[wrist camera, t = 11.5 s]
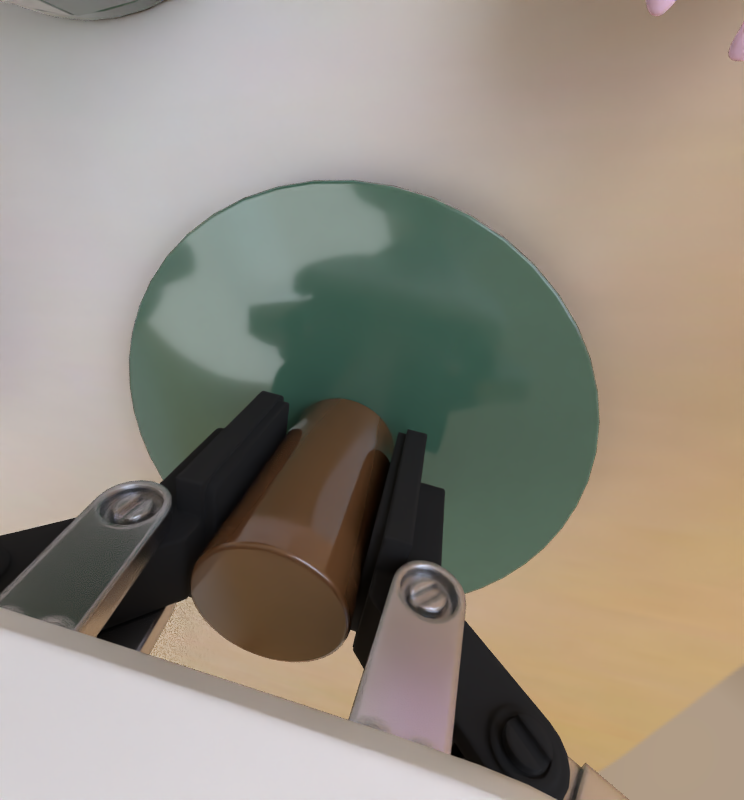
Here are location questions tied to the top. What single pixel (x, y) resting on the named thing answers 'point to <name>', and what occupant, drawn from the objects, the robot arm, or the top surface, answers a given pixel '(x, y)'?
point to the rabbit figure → (740, 46)
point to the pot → (85, 7)
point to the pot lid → (361, 395)
